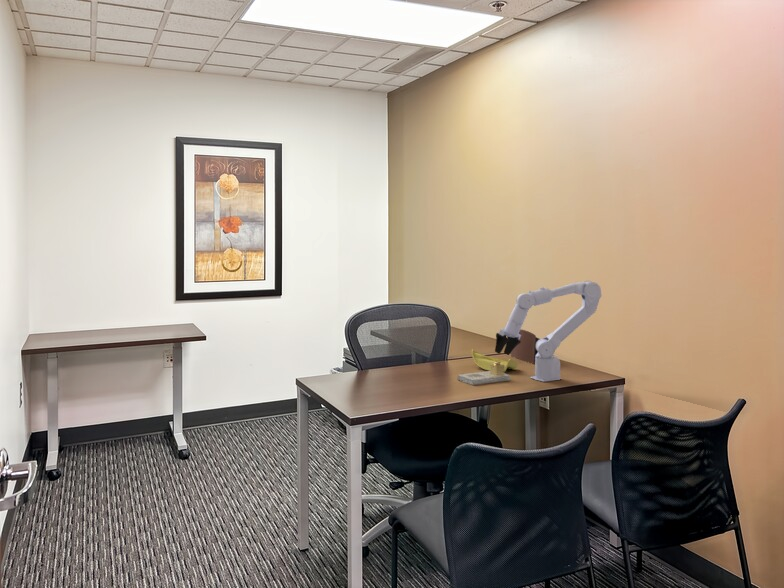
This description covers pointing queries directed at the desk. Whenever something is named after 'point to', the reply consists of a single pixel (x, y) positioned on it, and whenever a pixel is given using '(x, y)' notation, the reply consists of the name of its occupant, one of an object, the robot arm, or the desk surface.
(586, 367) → the desk surface
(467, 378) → the grey stone slab
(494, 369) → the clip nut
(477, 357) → the yellow curved piece
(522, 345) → the letter holder
